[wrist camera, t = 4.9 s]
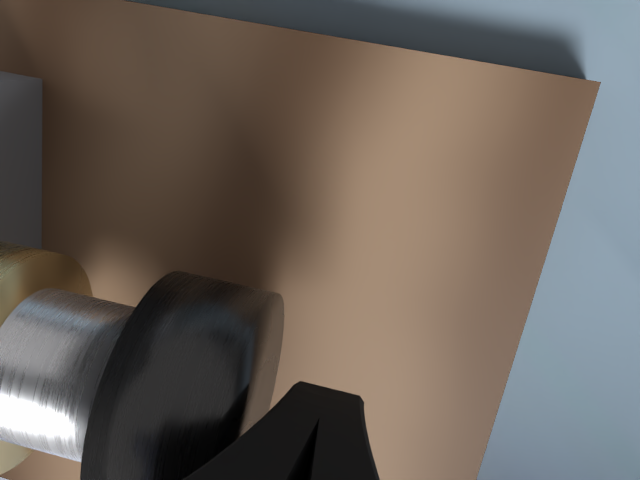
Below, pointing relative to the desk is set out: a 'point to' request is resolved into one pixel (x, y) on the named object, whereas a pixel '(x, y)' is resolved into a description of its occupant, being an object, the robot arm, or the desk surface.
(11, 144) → the block
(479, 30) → the desk surface
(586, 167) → the desk surface
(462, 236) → the base board
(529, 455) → the desk surface
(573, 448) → the desk surface
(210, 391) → the shaft
